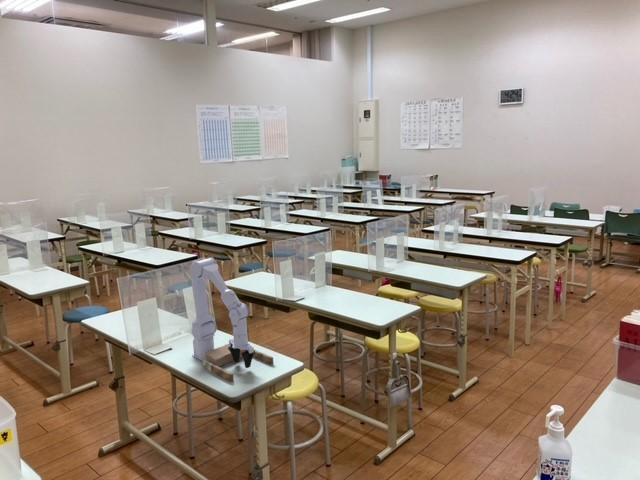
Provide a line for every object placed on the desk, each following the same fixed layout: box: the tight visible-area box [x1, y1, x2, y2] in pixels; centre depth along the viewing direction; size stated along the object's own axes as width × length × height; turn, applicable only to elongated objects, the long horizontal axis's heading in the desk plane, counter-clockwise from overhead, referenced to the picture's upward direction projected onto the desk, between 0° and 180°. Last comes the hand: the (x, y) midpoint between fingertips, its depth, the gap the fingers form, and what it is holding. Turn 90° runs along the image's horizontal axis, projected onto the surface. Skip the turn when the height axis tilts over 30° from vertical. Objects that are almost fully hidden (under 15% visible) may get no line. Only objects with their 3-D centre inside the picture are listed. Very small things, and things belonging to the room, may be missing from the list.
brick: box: [205, 343, 245, 367], centre depth 214 cm, size 16×8×5 cm, turn 135°
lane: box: [202, 349, 274, 383], centre depth 208 cm, size 20×22×3 cm
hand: (242, 364), depth 206 cm, fingers open, 7 cm apart
